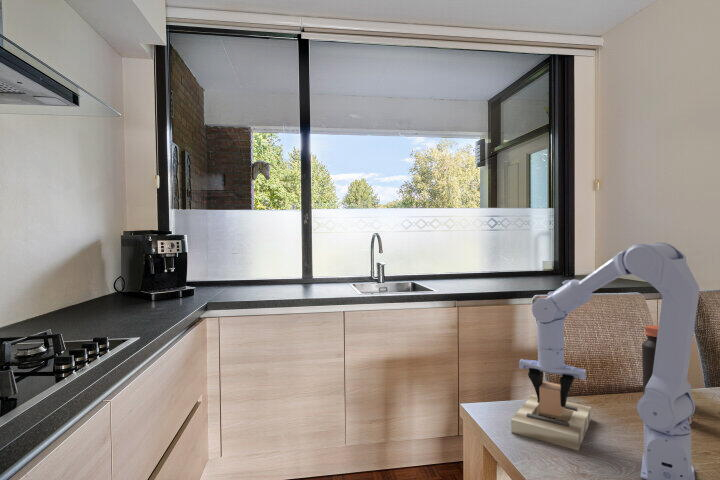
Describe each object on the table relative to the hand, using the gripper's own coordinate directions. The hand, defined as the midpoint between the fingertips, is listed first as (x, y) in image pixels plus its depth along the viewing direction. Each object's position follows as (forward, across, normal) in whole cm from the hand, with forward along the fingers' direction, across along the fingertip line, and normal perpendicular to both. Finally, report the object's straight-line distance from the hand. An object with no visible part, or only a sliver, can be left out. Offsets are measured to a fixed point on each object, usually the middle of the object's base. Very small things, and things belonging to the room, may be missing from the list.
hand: (551, 403), depth 96 cm
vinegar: (+6, -20, -32) cm, 38 cm away
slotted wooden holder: (+5, 0, 0) cm, 5 cm away
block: (+2, 0, 0) cm, 2 cm away
